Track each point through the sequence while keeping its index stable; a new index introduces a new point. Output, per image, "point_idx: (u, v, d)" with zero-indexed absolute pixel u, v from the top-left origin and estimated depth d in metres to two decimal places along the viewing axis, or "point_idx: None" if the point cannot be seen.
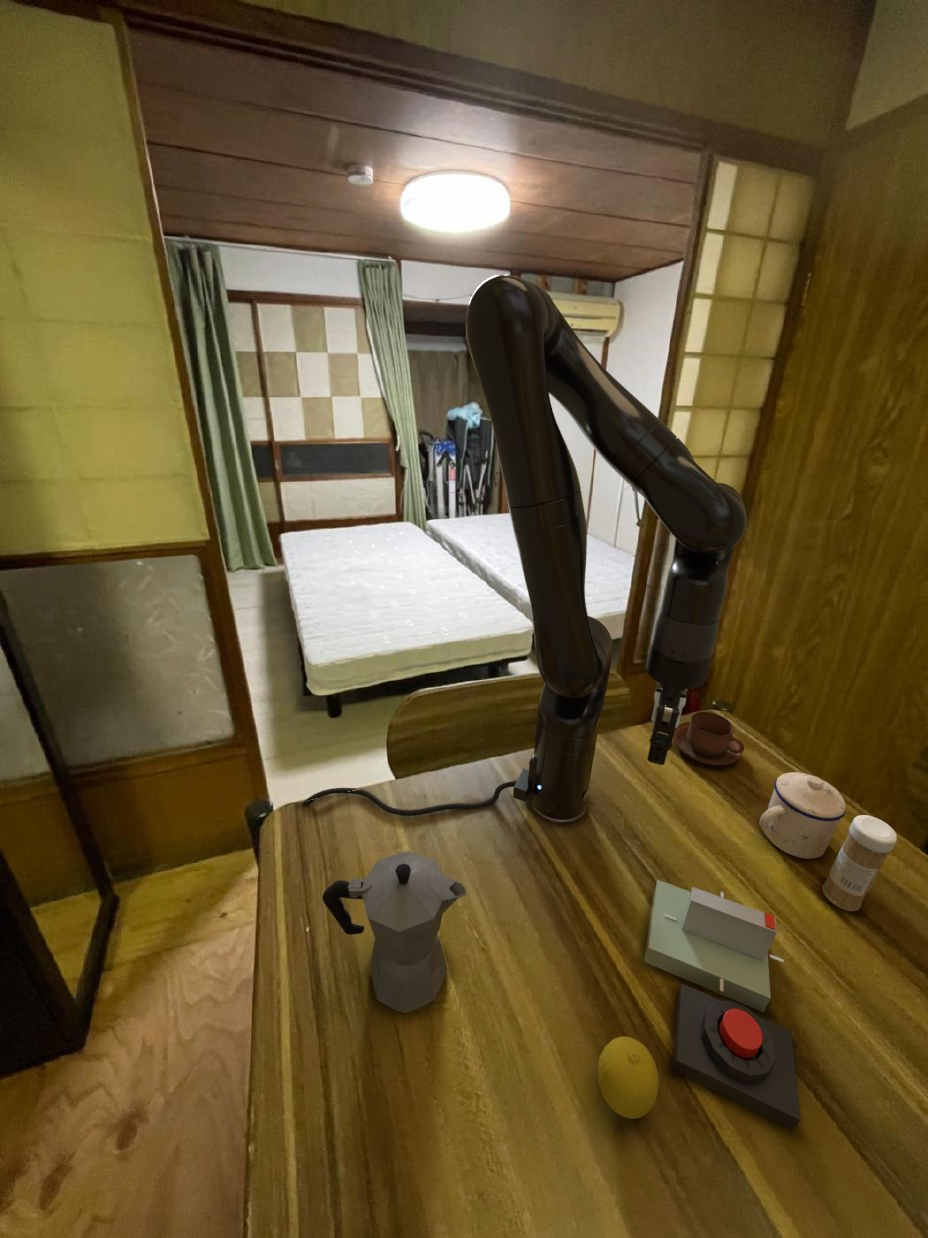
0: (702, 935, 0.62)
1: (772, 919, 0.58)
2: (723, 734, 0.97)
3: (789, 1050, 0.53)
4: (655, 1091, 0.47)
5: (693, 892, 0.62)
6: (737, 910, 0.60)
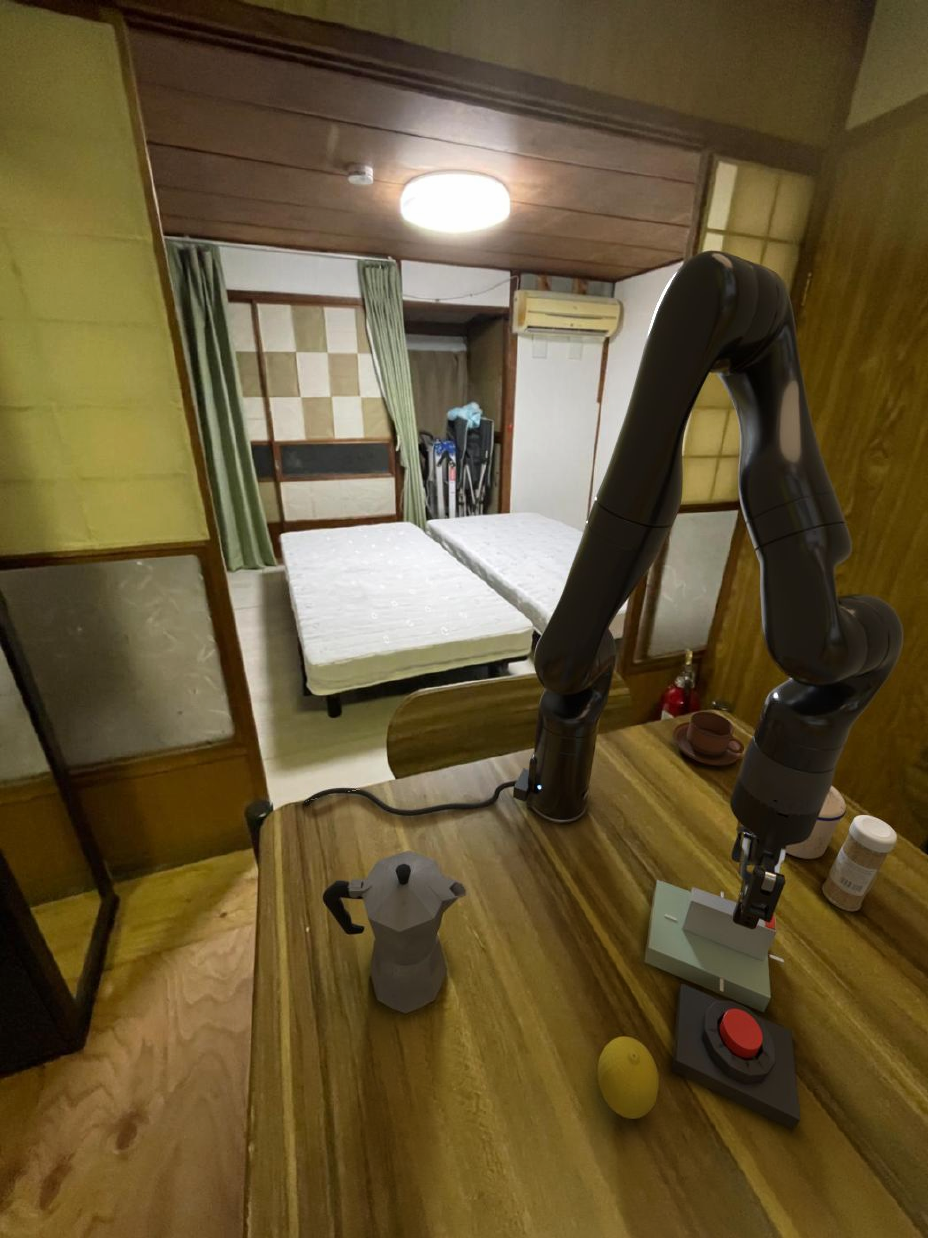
0: (702, 935, 0.62)
1: (772, 919, 0.58)
2: (723, 734, 0.97)
3: (789, 1050, 0.53)
4: (655, 1091, 0.47)
5: (693, 892, 0.62)
6: None
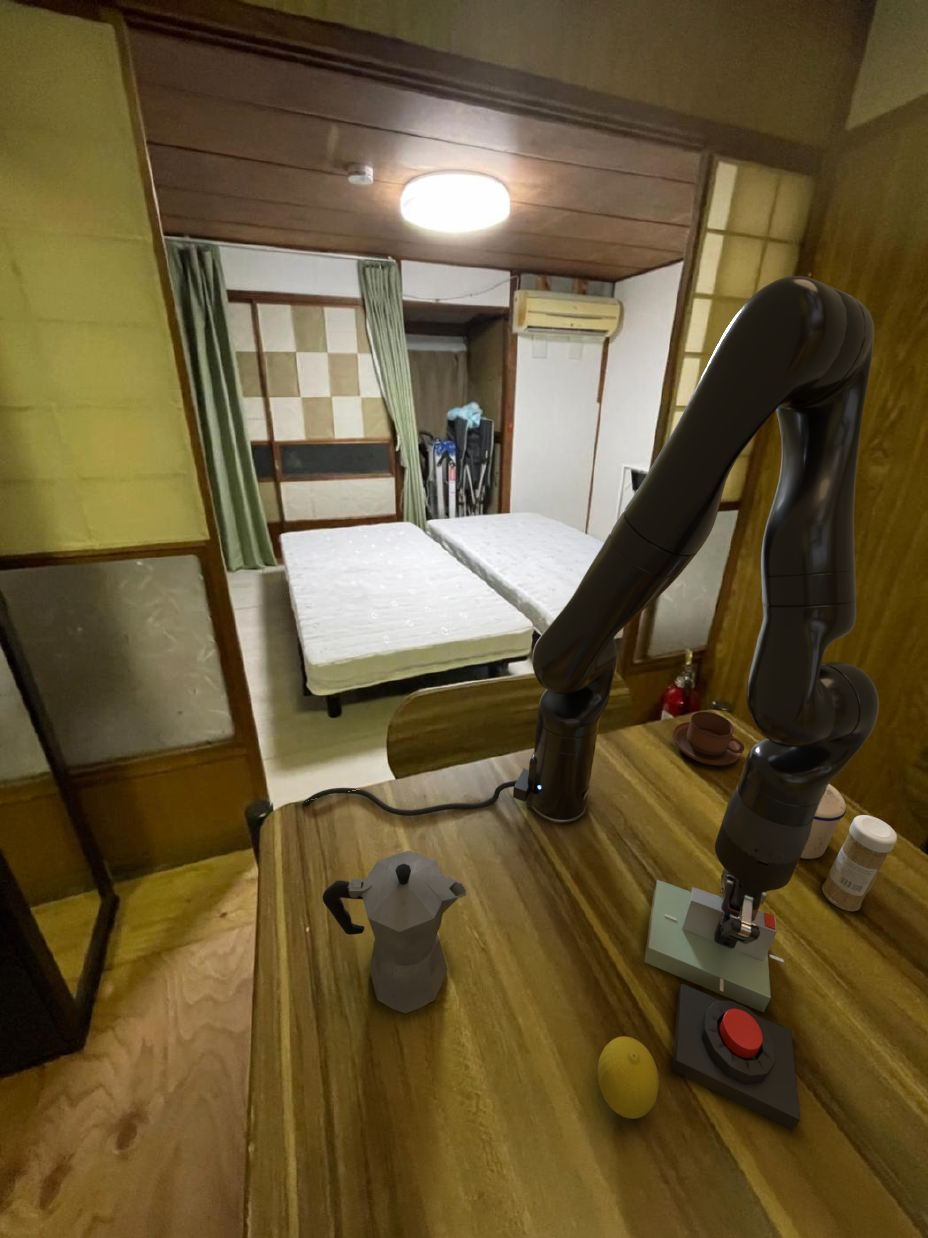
0: (702, 935, 0.62)
1: (772, 919, 0.58)
2: (723, 734, 0.97)
3: (789, 1050, 0.53)
4: (655, 1091, 0.47)
5: (693, 892, 0.62)
6: None
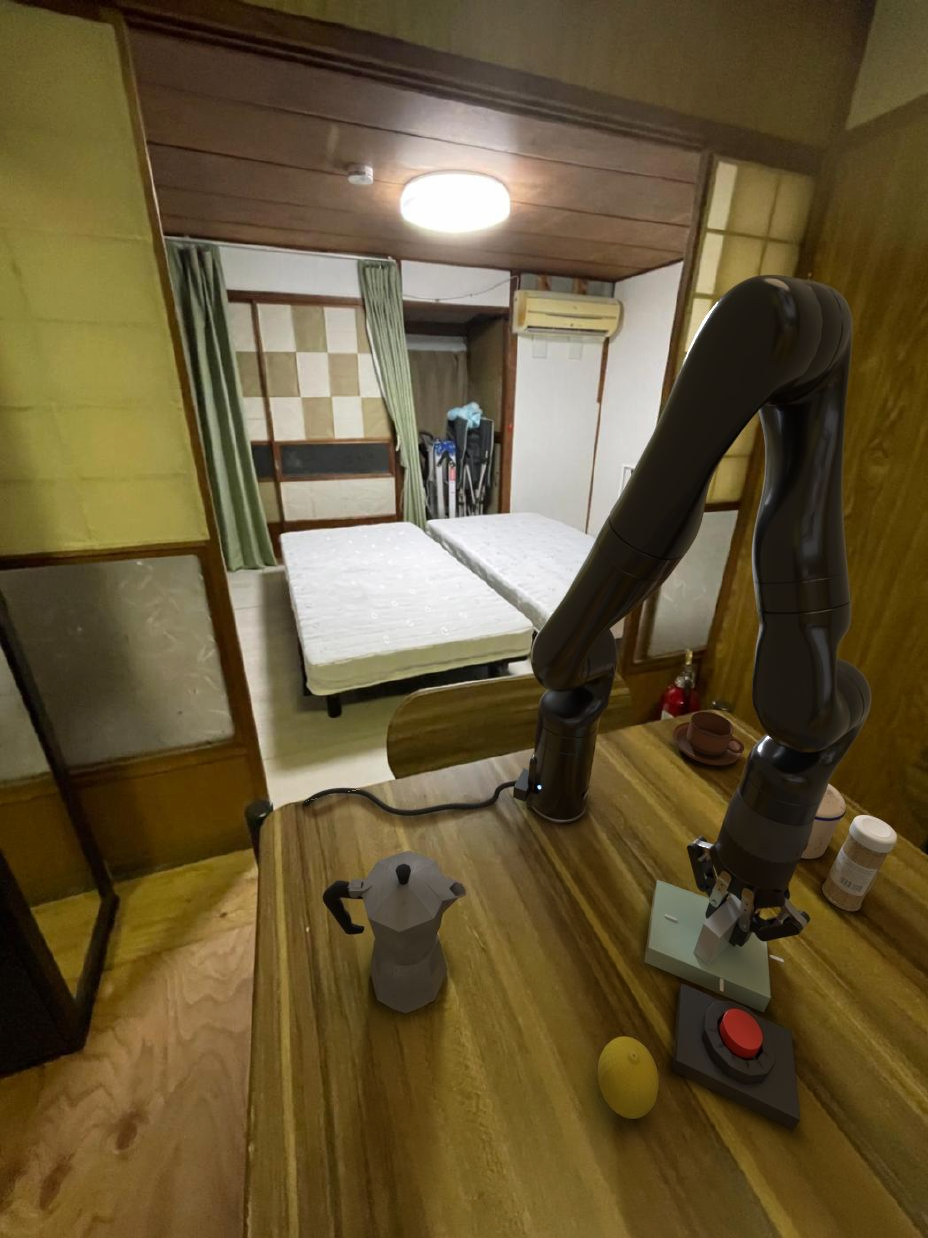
0: (720, 953, 0.60)
1: None
2: (723, 734, 0.97)
3: (789, 1050, 0.53)
4: (655, 1091, 0.47)
5: (711, 928, 0.58)
6: (735, 906, 0.60)
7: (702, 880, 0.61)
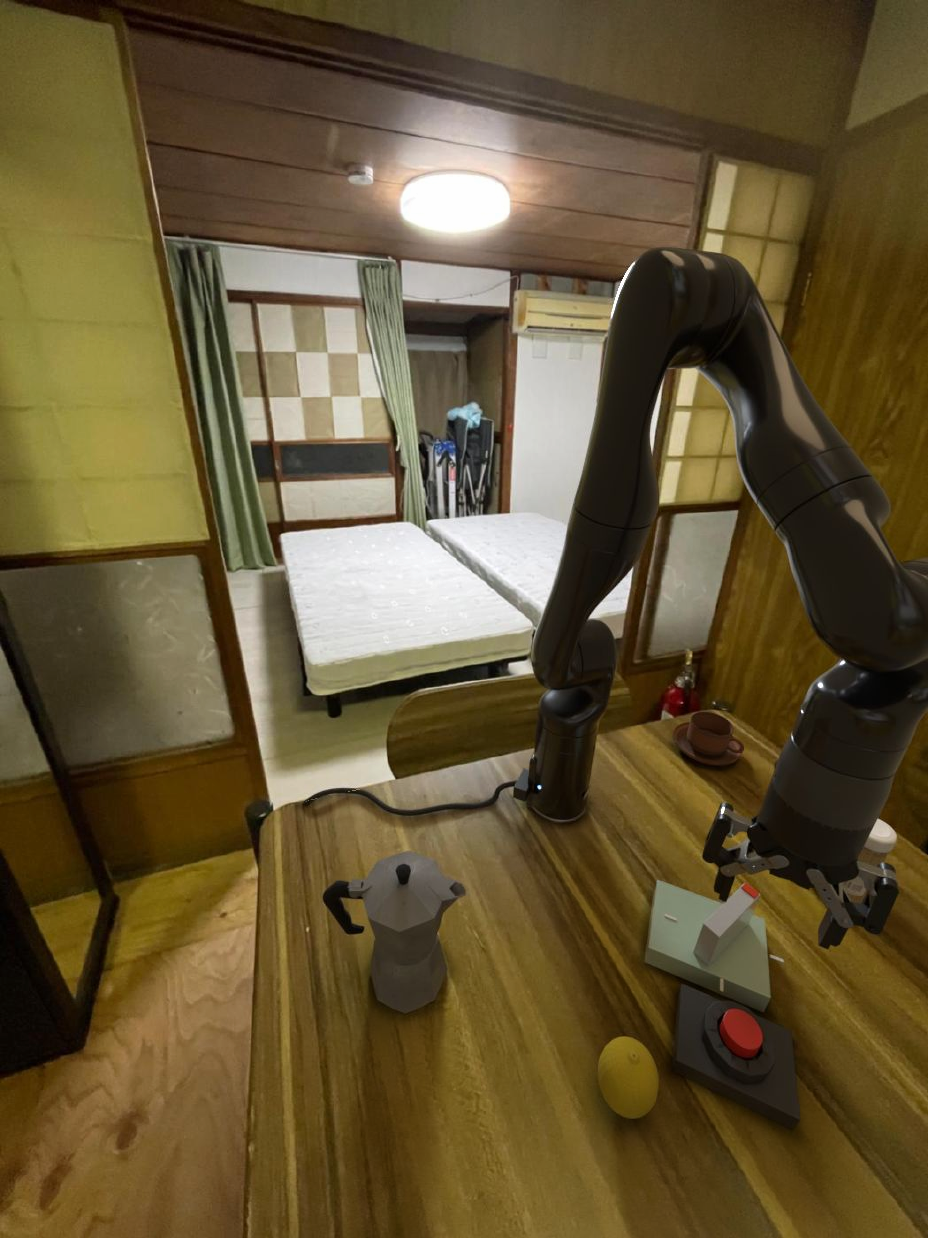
0: (720, 953, 0.60)
1: (749, 887, 0.62)
2: (723, 734, 0.97)
3: (789, 1050, 0.53)
4: (655, 1091, 0.47)
5: (710, 927, 0.58)
6: (735, 906, 0.60)
7: (716, 853, 0.49)
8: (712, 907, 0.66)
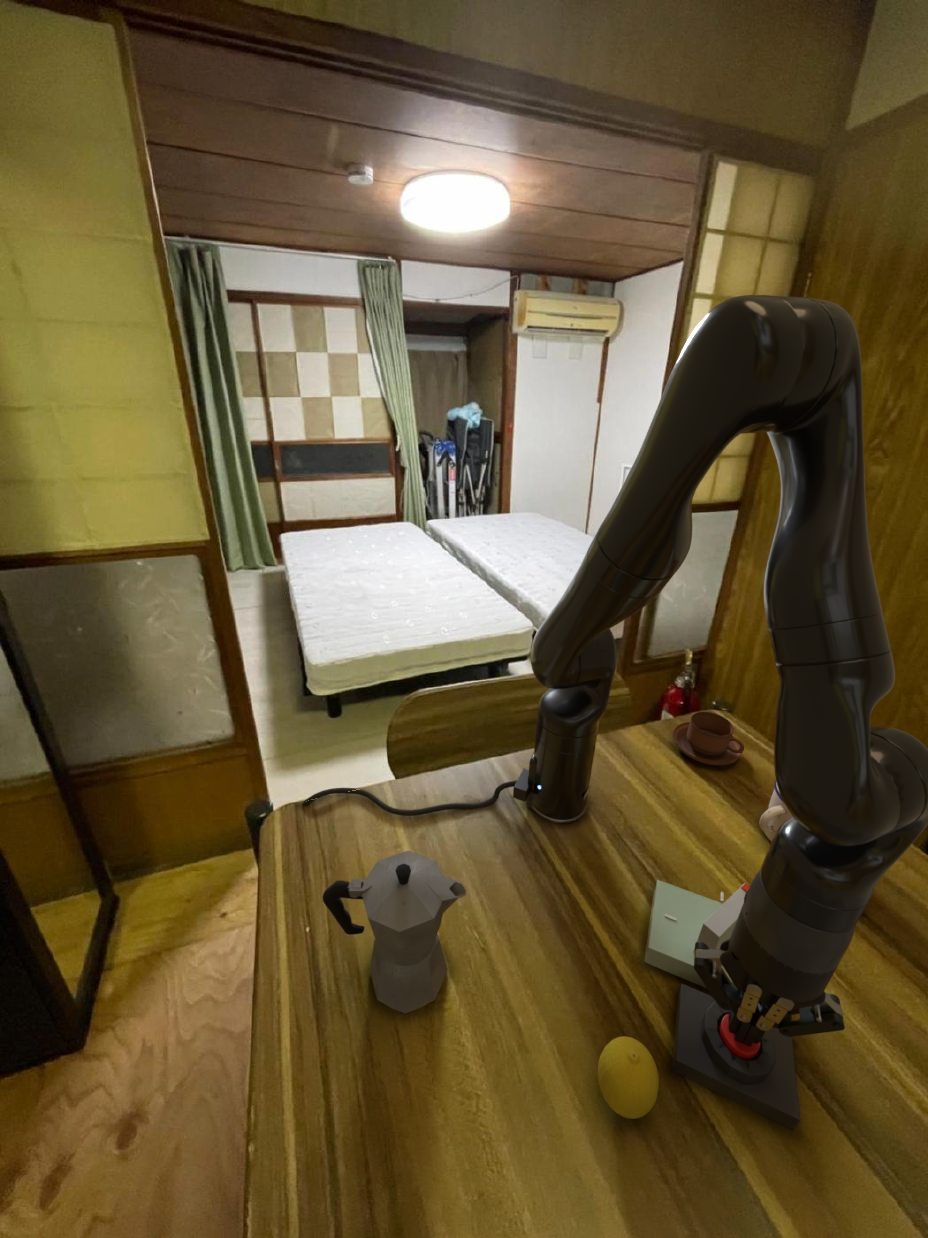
0: None
1: (749, 887, 0.62)
2: (723, 734, 0.97)
3: (789, 1050, 0.53)
4: (655, 1091, 0.47)
5: (710, 927, 0.58)
6: (735, 906, 0.60)
7: (724, 997, 0.49)
8: (712, 907, 0.66)
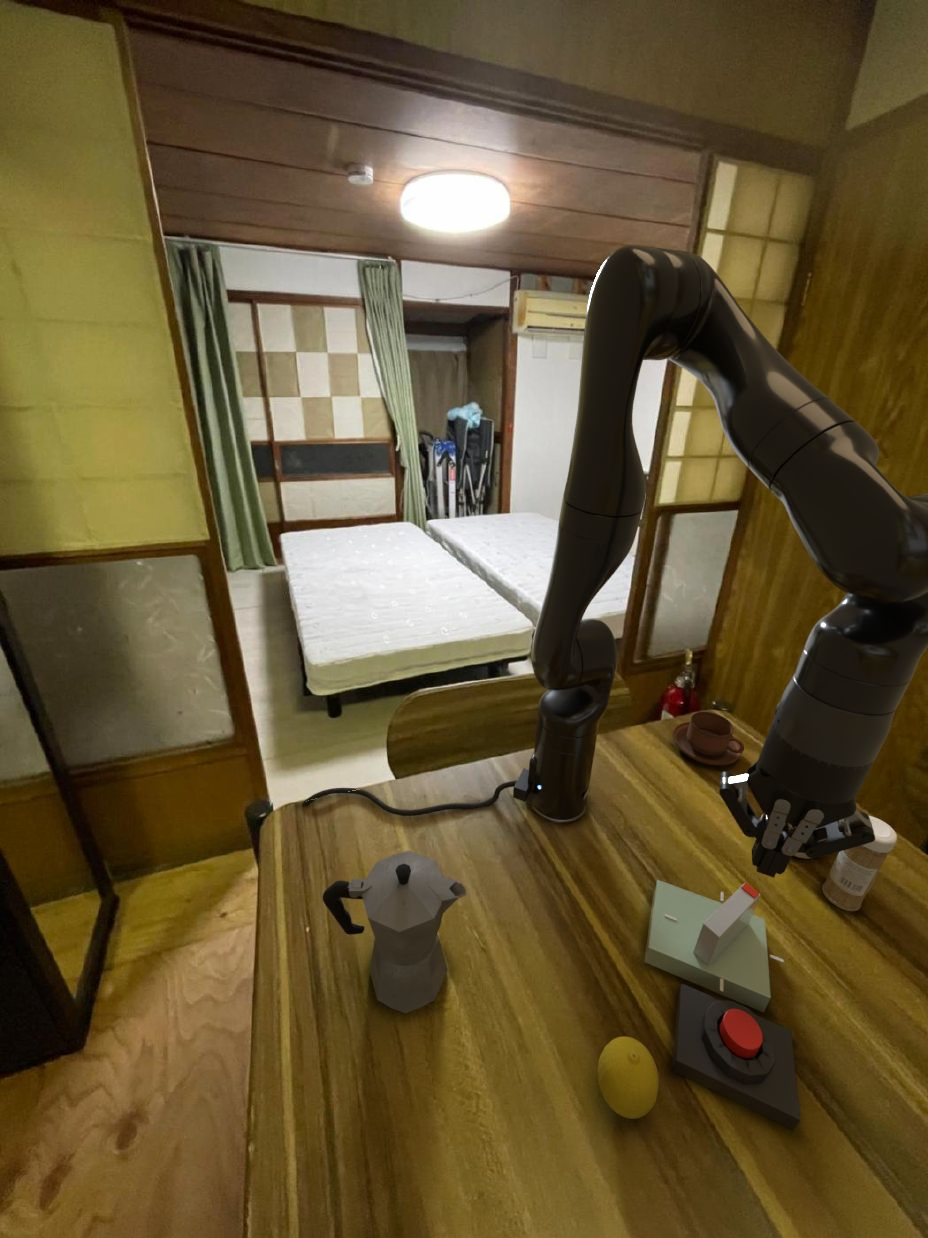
0: (720, 953, 0.60)
1: (749, 887, 0.62)
2: (723, 734, 0.97)
3: (789, 1050, 0.53)
4: (655, 1091, 0.47)
5: (710, 927, 0.58)
6: (735, 906, 0.60)
7: (749, 823, 0.49)
8: (712, 907, 0.66)
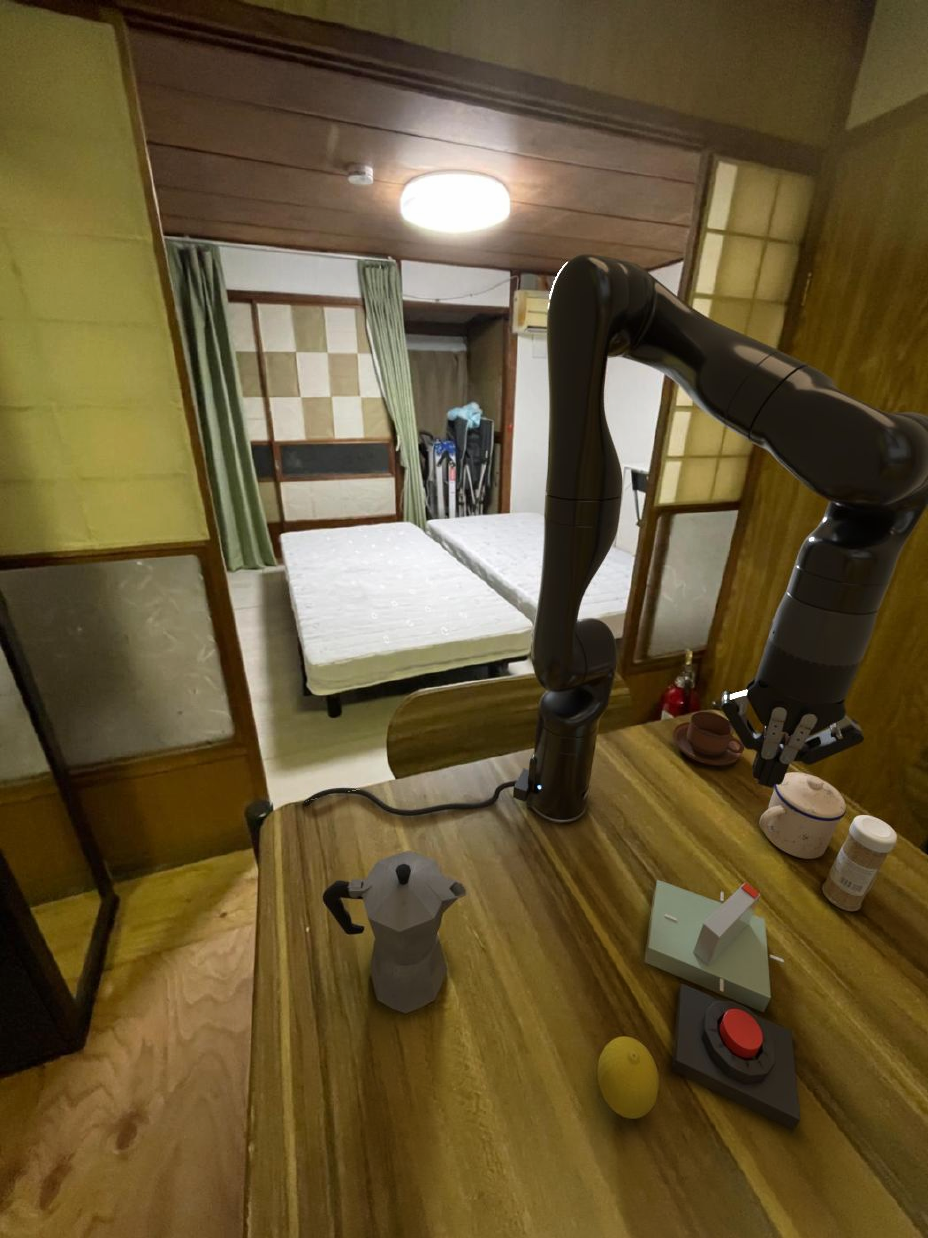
0: (720, 953, 0.60)
1: (749, 887, 0.62)
2: (723, 734, 0.97)
3: (789, 1050, 0.53)
4: (655, 1091, 0.47)
5: (710, 927, 0.58)
6: (735, 906, 0.60)
7: (749, 735, 0.53)
8: (712, 907, 0.66)
